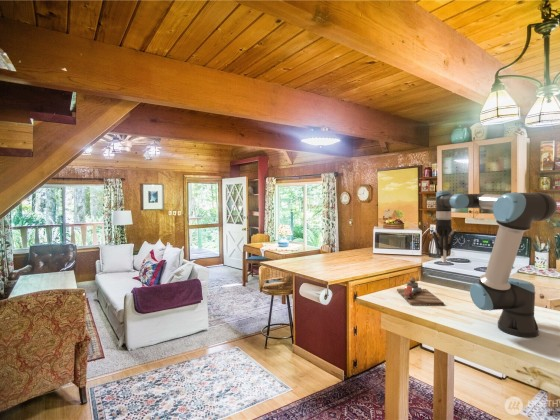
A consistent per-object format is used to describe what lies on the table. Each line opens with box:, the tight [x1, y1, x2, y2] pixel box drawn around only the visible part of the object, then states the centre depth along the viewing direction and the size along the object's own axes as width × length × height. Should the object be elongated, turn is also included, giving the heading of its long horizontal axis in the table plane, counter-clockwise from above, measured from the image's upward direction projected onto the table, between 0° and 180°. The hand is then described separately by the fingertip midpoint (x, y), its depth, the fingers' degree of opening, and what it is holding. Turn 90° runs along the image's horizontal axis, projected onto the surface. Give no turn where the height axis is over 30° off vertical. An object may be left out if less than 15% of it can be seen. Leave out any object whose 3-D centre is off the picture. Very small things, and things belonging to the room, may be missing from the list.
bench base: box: [396, 276, 445, 306], centre depth 196 cm, size 26×18×10 cm
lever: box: [404, 285, 422, 298], centre depth 196 cm, size 20×6×7 cm, turn 141°
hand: (443, 261), depth 181 cm, fingers closed
